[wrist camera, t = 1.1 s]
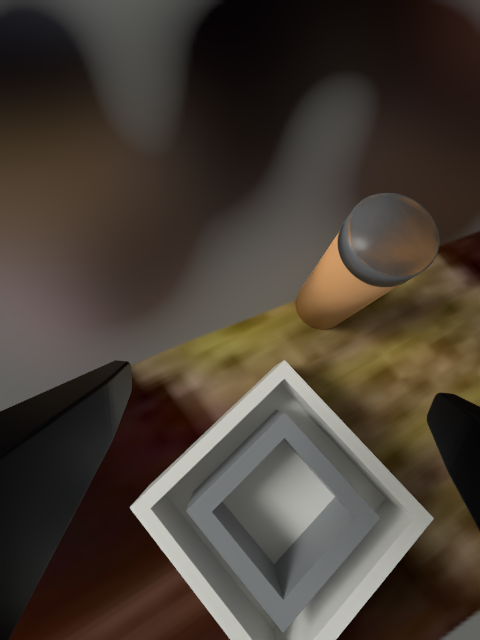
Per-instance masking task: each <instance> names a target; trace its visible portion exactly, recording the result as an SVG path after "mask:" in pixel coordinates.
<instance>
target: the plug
mask: <svg viewBox="0 0 480 640" xmlns="http://www.w3.org/2000/svg"><path fill="white" fill-rule="evenodd" d="M438 249H439V233H438V229H437V226H436V224H435V222H434V220H433V218H432V217H431V215H430V214H429V213H428V212H427V210H426V209H424V207H422V206H421V205H420V204H419V203H417V202H415V201H414V200H412V199H410V198H408V197H405V196H403V195H399V194H393V193H381V194H376V195H372V196H369V197H367V198H365V199H363V200H362V201H361V202H359V204H357V206H355V208H354V209H353V210H352V212H351V213H350V215H349V216H348V218H347V219H346V221H345V222H344V224H343V225H342V227H341V229H340V232H339V233H338V235H337V236H336V238H335V239H334V241H333V242H332V243H331V245H330V246H329V248H328V249H327V251H326V252H325V254H324V256H323V257H322V258H321V260H320V261H319V263H318V264H317V266H316V267H315V269H314V270H313V272H312V273H311V275H310V276H309V278H308V279H307V280H306V282H305V283H304V285H303V286H302V288H301V289H300V291H299V293H298V295H297V298H296V309H297V312H298V314H299V316H300V318H301V319H302V320H303V321H304V322H305V323H306V324H307V325H309V326H311V327H313V328H316V329H329V328H332V327H335V326H336V325H338V324H339V323H341V322H342V321H344V320H345V319H347V318H349V317H350V316H352V315H353V314H355V313H356V312H358V311H359V310H361V309H363V308H364V307H366V306H367V305H369V304H370V303H372V302H374V301H375V300H377V299H378V298H380V297H381V296H383V295H384V294H386V293H388V292H389V291H391V290H392V289H394V288H395V287H397V286H398V285H401V284H403V283H405V282H407V281H408V280H410V279H411V278H413V277H415V276H416V275H418V274H419V273H421V272H422V271H424V270H425V269H427V268H428V267H429V266H430V265H431V264H432V262H433V261H434V259H435V258H436V255H437V253H438Z"/></svg>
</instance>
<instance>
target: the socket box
mask: <svg viewBox="0 0 480 640" xmlns="http://www.w3.org/2000/svg"><path fill="white" fill-rule="evenodd" d="M130 509H131V510H132V511H133V513H134V514H135V515H136V517H137V518H138V519H139V521H140V522H141V523H142V524H143V526H144V527H145V528H146V530H147V531H148V532H149V534H150V535H151V536H152V538H153V539H154V540H155V541H156V543H157V544H158V545H159V547H160V548H161V549H162V551H163V552H164V553H165V555H166V556H167V557H168V558H169V560H170V561H171V562H172V564H173V565H174V566H175V568H176V569H177V570H178V572H179V573H180V574H181V576H182V577H183V578H184V579H185V581H186V582H187V583H188V585H189V586H190V587H191V589H192V590H193V591H194V593H195V594H196V595H197V596H198V598H199V599H200V600H201V602H202V603H203V604H204V606H205V607H206V608H207V610H208V611H209V612H210V613H211V615H212V616H213V617H214V619H215V620H216V621H217V623H218V624H219V625H220V627H221V628H222V629H223V630H224V632H225V633H226V634H227V636H228V637H229V638H230V640H336V639H337V638H338V637H339V635H340V634H341V633H342V632H343V630H344V629H345V628H346V627H347V626H348V624H349V623H350V622H351V621H352V619H353V618H354V617H355V616H356V614H357V613H358V612H359V611H360V609H361V608H362V607H363V606H364V604H365V603H366V602H367V601H368V600H369V598H370V597H371V596H372V595H373V593H374V592H375V591H376V590H377V588H378V587H379V586H380V585H381V583H382V582H383V581H384V580H385V578H386V577H387V576H388V575H389V574H390V572H391V571H392V570H393V569H394V567H395V566H396V565H397V564H398V562H399V561H400V560H401V559H402V557H403V556H404V555H405V554H406V552H407V551H408V550H409V549H410V548H411V546H412V545H413V544H414V543H415V541H416V540H417V539H418V538H419V536H420V535H421V534H422V533H423V531H424V530H425V529H426V528H427V527H428V525H429V524H430V523H431V522H432V520H433V519H434V518H433V517H432V516H431V515H430V514H429V513H428V512H427V511H426V510H425V508H424V507H423V506H422V505H421V504H420V503H419V502H418V501H417V500H416V499H415V498H414V497H413V496H412V495H411V494H410V493H409V491H408V490H407V489H406V488H405V487H404V486H403V485H402V484H401V483H400V482H399V481H398V480H397V479H396V478H395V477H394V476H393V475H392V473H391V472H390V471H389V470H388V469H387V468H386V467H385V466H384V465H383V464H382V463H381V462H380V461H379V460H378V459H377V458H376V456H375V455H374V454H373V453H372V452H371V451H370V450H369V449H368V448H367V447H366V446H365V445H364V444H363V443H362V442H361V441H360V439H359V438H358V437H357V436H356V435H355V434H354V433H353V432H352V431H351V430H350V429H349V428H348V427H347V426H346V425H345V424H344V423H343V421H342V420H341V419H340V418H339V417H338V416H337V415H336V414H335V413H334V412H333V411H332V410H331V409H330V408H329V407H328V406H327V404H326V403H325V402H324V401H323V400H322V399H321V398H320V397H319V396H318V395H317V394H316V393H315V392H314V391H313V390H312V389H311V388H310V386H309V385H308V384H307V383H306V382H305V381H304V380H303V379H302V378H301V377H300V376H299V375H298V374H297V373H296V372H295V371H294V369H293V368H292V367H291V366H290V365H289V364H288V363H287V362H286V361H285V360H284V361H282V362H281V363H279V364H277V365H276V366H275V367H274V368H272V369H271V370H270V371H269V372H268V373H267V374H266V375H265V376H264V377H263V378H262V379H261V380H260V381H259V382H258V383H257V384H256V385H255V386H254V387H252V388H251V389H250V390H249V391H248V392H247V393H246V394H245V395H244V396H243V397H242V398H241V399H240V400H239V401H238V402H237V403H236V404H235V405H234V406H232V407H231V408H230V409H229V410H228V411H227V412H226V413H225V414H224V415H223V416H222V417H221V418H220V419H219V420H218V421H217V422H216V423H215V424H213V425H212V426H211V427H210V428H209V429H208V430H207V431H206V432H205V433H204V434H203V435H202V436H201V437H200V438H199V439H198V440H197V441H196V442H195V443H193V444H192V445H191V446H190V447H189V448H188V449H187V450H186V451H185V452H184V453H183V454H182V455H181V456H180V457H179V458H178V459H177V460H176V461H175V462H173V463H172V464H171V465H170V466H169V467H168V468H167V469H166V470H165V471H164V472H163V473H162V474H161V475H160V476H159V477H158V478H157V479H156V480H155V481H153V482H152V483H151V484H150V485H149V486H148V487H147V489H146V490H145V491H144V492H143V493H142V494H141V495H140V496H139V498H138V499H137V500H136V501H135V502H134V503H133V504H132V506H131V507H130Z"/></svg>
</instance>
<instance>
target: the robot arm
mask: <svg viewBox="0 0 480 640" xmlns="http://www.w3.org/2000/svg"><path fill="white" fill-rule="evenodd" d="M131 389H132V379H131V365H130V363H129V362H127V361H113V362H111V363H108V364H106V365H104V366H102V367H99V368H97V369H95V370H93V371H90V372H88V373H86V374H84V375H81V376H79V377H77V378H75V379H72V380H70V381H68V382H66V383H63V384H61V385H59V386H57V387H54V388H52V389H50V390H48V391H46V392H43V393H41V394H39V395H36V396H34V397H32V398H30V399H27V400H25V401H23V402H21V403H18V404H16V405H14V406H12V407H9V408H7V409H5V410H3V411H0V640H9V638H10V636H11V634H12V632H13V630H14V628H15V626H16V624H17V623H18V621H19V619H20V617H21V615H22V613H23V611H24V609H25V607H26V605H27V603H28V601H29V600H30V598H31V596H32V594H33V592H34V590H35V588H36V586H37V584H38V582H39V580H40V578H41V577H42V575H43V573H44V571H45V569H46V567H47V565H48V563H49V561H50V559H51V557H52V555H53V554H54V552H55V550H56V548H57V546H58V544H59V542H60V540H61V538H62V536H63V534H64V532H65V531H66V529H67V527H68V525H69V523H70V521H71V519H72V517H73V515H74V513H75V511H76V509H77V508H78V506H79V504H80V502H81V500H82V498H83V496H84V494H85V492H86V490H87V488H88V486H89V485H90V483H91V481H92V479H93V477H94V475H95V473H96V471H97V469H98V467H99V465H100V463H101V462H102V460H103V458H104V456H105V454H106V452H107V450H108V448H109V446H110V444H111V442H112V440H113V438H114V435H115V433H116V430H117V428H118V425H119V423H120V420H121V417H122V415H123V412H124V409H125V407H126V404H127V402H128V399H129V396H130V394H131ZM427 423H428V426H429V428H430V430H431V433H432V435H433V437H434V440H435V442H436V445H437V447H438V449H439V452H440V454H441V457H442V459H443V461H444V464H445V466H446V468H447V470H448V473H449V475H450V477H451V479H452V481H453V482H454V484H455V486H456V488H457V490H458V492H459V494H460V496H461V497H462V499H463V501H464V503H465V505H466V507H467V509H468V510H469V512H470V514H471V516H472V518H473V520H474V522H475V524H476V525H477V527H478V529H479V531H480V407H479V406H477V405H475V404H473V403H471V402H469V401H467V400H465V399H463V398H461V397H459V396H457V395H455V394H450V393H438V394H437V395H436V396H435V397H434V400H433V402H432V405H431V407H430V409H429V412H428V414H427Z"/></svg>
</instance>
